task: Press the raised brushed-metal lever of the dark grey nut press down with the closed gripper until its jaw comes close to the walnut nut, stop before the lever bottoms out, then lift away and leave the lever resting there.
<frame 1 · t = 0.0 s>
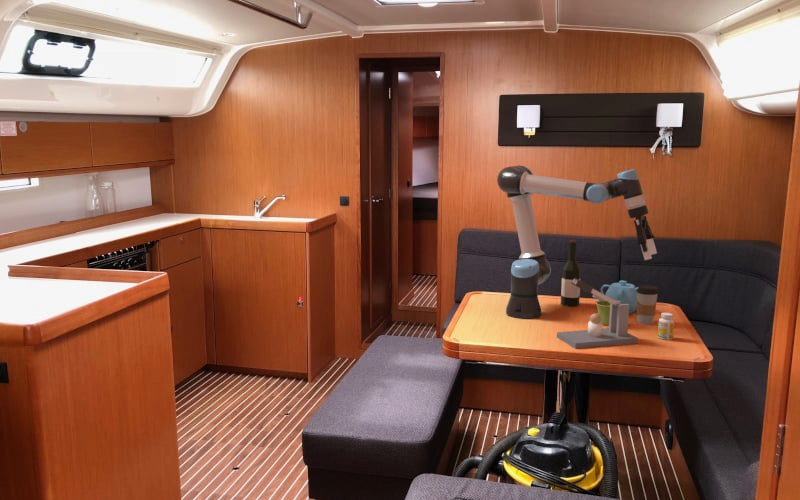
hand: (651, 256, 263), 28 cm above the table, tool tilted 20°, fingers open, 13 cm apart
coffee cup: (645, 322, 268), on the table
decorative pot: (621, 311, 286), on the table
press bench: (596, 340, 244), on the table
plant pot: (606, 324, 266), on the table
wine bottle: (569, 304, 296), on the table
supplement bottle: (665, 338, 246), on the table
press lever: (598, 294, 240), point 18 cm above the table, hinge at -28.0°
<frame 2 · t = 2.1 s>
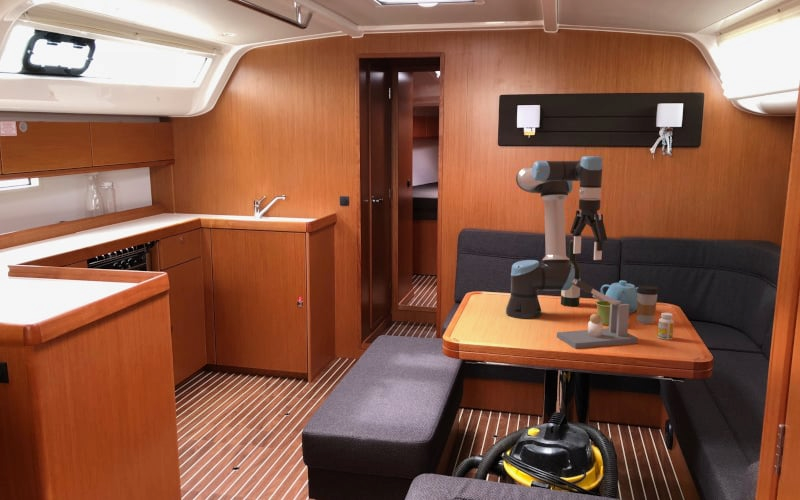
hand: (586, 256, 237), 33 cm above the table, tool pointing down, fingers open, 13 cm apart
nothing on the table moved.
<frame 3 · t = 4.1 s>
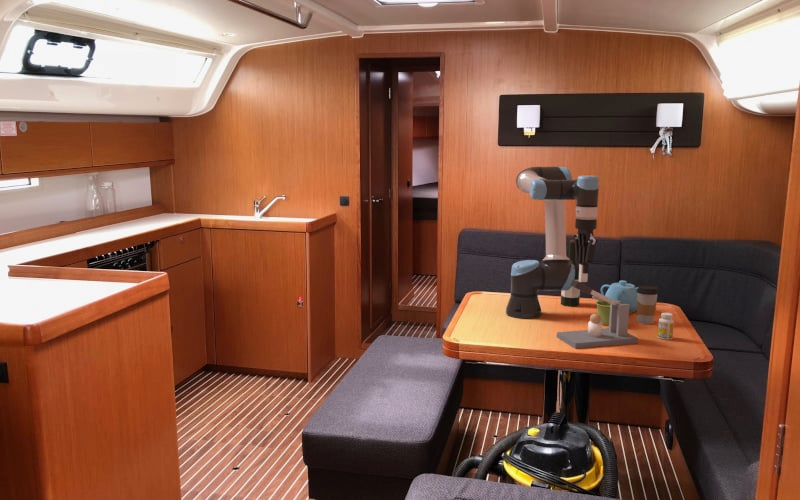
hand: (582, 281, 238), 23 cm above the table, tool pointing down, fingers closed
press lever: (597, 295, 240), point 17 cm above the table, hinge at -26.1°, touching gripper
everything else where it was.
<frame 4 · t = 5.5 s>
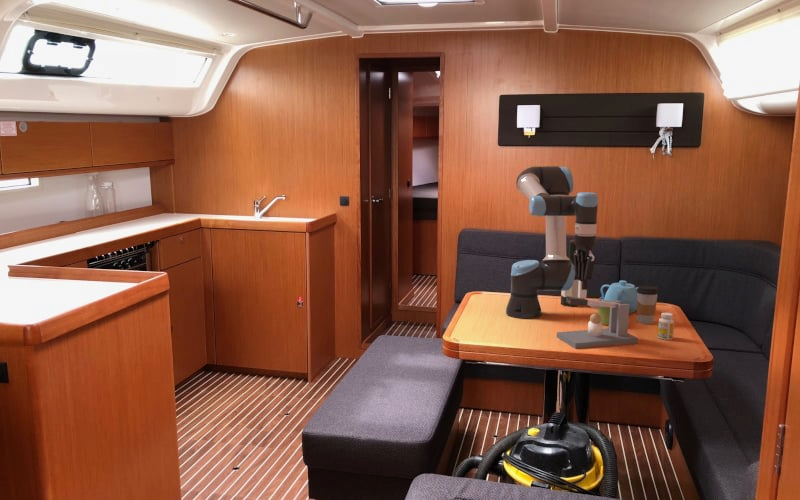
hand: (582, 297, 239), 17 cm above the table, tool pointing down, fingers closed
press lever: (595, 303, 241), point 14 cm above the table, hinge at -8.7°, touching gripper
everything else where it was.
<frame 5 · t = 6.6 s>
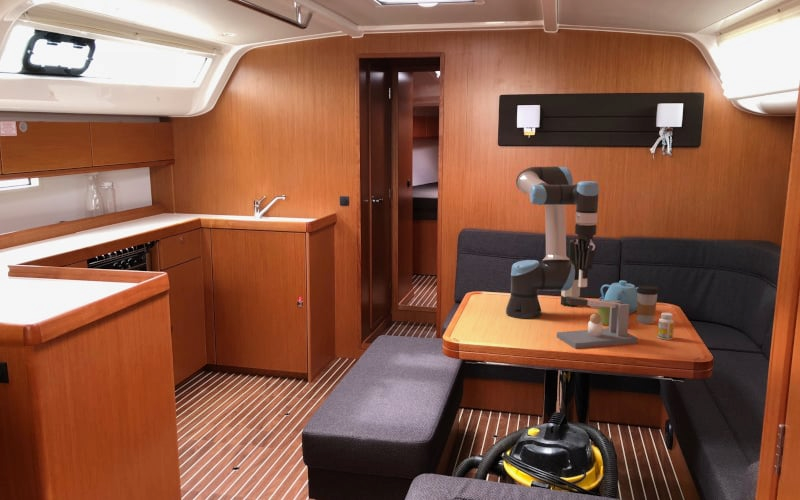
hand: (582, 286, 239), 21 cm above the table, tool pointing down, fingers closed
press lever: (595, 303, 241), point 14 cm above the table, hinge at -8.7°
everything else where it was.
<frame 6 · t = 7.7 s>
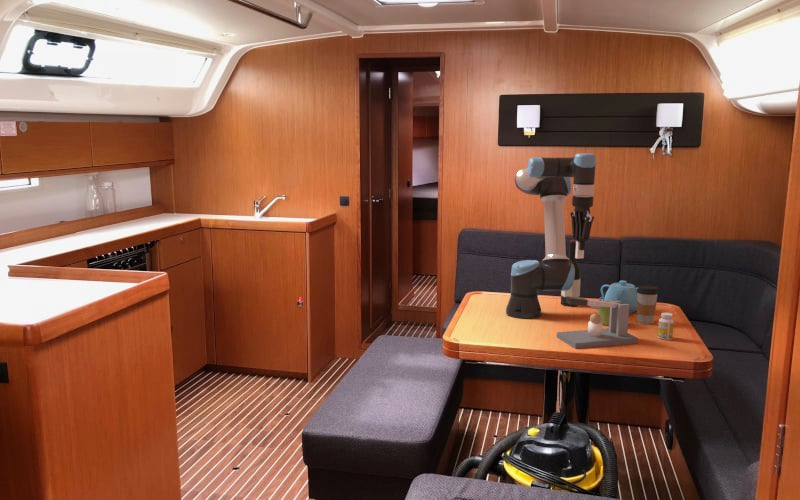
hand: (579, 258, 241), 31 cm above the table, tool pointing down, fingers closed
nothing on the table moved.
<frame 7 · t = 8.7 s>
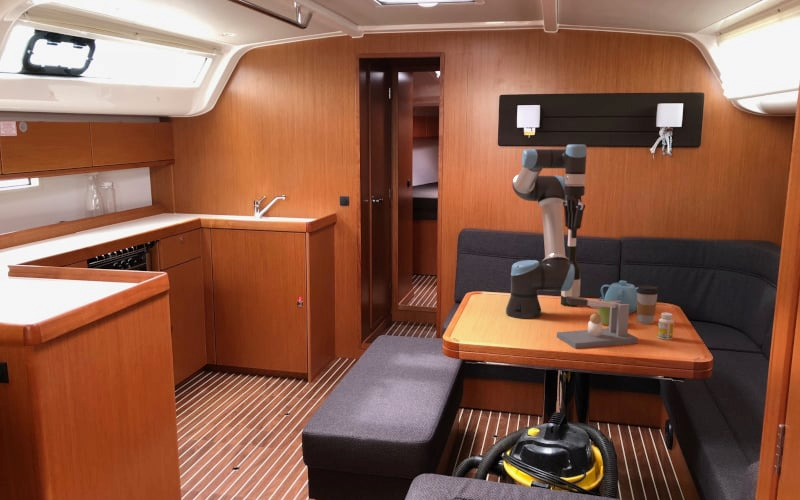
hand: (571, 246, 249), 34 cm above the table, tool pointing down, fingers closed
nothing on the table moved.
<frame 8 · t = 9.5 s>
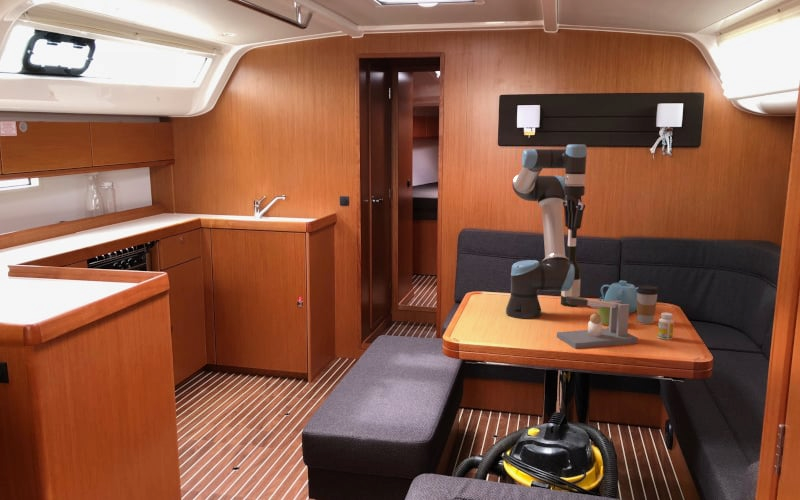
hand: (571, 246, 249), 34 cm above the table, tool pointing down, fingers closed
nothing on the table moved.
at the end: press lever at -9° (first picture: -28°); the gripper is holding nothing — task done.
